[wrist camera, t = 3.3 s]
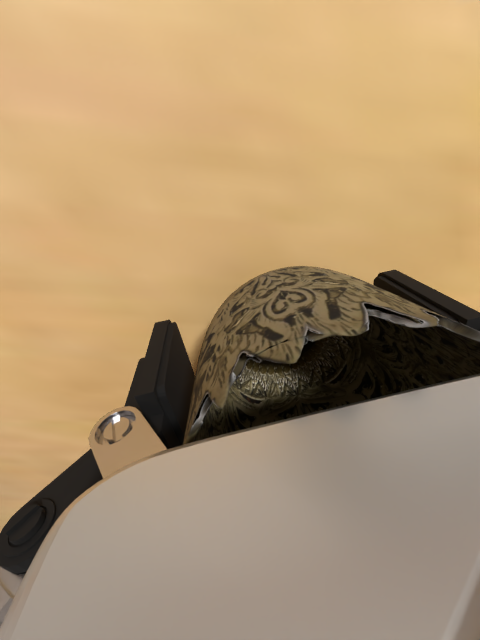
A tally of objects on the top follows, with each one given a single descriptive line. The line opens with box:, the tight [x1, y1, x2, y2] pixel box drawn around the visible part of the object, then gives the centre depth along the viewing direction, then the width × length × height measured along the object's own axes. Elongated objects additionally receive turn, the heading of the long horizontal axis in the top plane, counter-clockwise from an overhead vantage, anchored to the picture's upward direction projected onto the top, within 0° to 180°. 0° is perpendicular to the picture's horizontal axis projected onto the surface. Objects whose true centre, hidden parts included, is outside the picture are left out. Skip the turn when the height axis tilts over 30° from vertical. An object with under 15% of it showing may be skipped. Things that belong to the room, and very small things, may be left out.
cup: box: [183, 266, 480, 445], centre depth 9 cm, size 8×7×8 cm
